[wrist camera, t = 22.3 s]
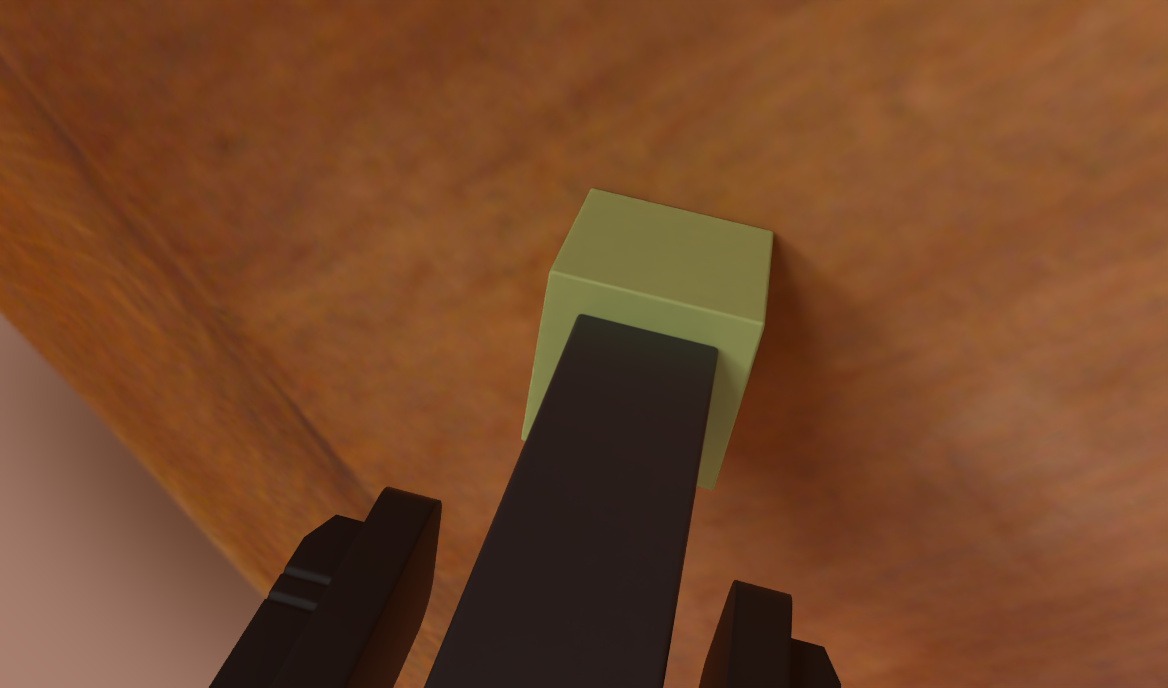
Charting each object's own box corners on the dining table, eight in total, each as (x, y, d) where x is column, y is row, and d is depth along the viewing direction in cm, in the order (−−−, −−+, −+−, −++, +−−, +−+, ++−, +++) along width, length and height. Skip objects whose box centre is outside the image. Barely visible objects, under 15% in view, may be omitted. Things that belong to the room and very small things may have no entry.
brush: (562, 341, 22) (272, 1029, 10) (590, 186, 20) (274, 823, 8) (729, 383, 21) (621, 1138, 10) (774, 230, 20) (704, 950, 8)
